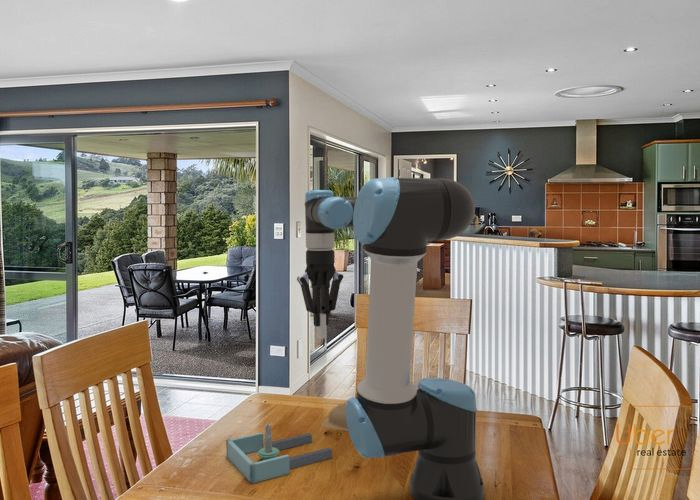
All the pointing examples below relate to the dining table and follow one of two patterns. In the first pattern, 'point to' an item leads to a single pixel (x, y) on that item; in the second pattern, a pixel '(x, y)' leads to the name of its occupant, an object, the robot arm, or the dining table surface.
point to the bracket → (258, 469)
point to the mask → (337, 418)
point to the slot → (302, 458)
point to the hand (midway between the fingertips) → (321, 337)
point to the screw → (268, 446)
